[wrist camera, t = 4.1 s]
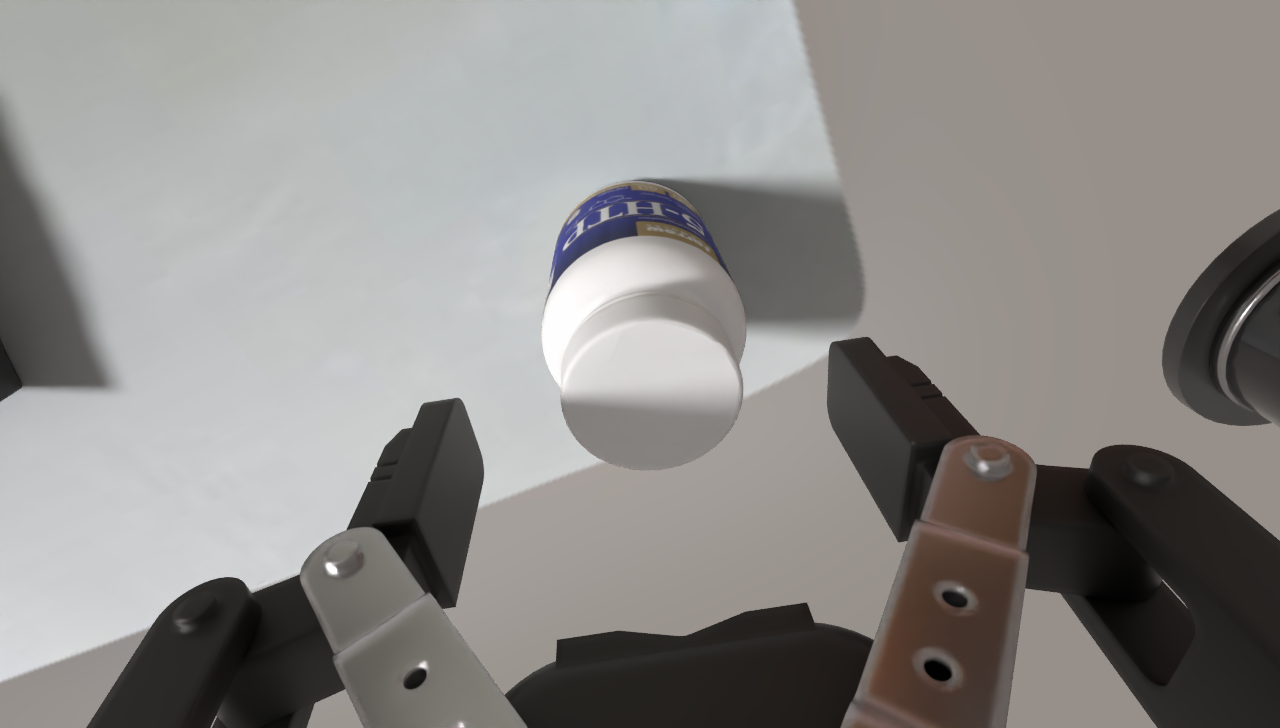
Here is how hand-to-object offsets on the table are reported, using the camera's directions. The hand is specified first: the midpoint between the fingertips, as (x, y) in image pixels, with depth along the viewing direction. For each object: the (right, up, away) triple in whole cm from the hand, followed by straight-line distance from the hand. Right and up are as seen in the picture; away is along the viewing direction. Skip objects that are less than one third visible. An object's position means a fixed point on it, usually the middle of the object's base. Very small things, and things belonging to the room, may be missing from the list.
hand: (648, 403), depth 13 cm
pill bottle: (0, +5, +8) cm, 9 cm away
